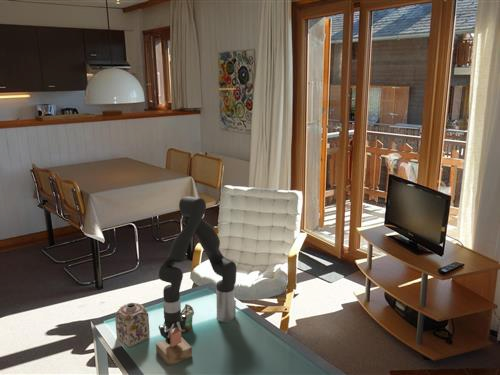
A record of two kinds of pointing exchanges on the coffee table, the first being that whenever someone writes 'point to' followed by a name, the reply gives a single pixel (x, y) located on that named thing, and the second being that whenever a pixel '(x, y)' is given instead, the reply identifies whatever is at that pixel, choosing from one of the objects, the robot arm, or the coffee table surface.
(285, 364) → the coffee table surface
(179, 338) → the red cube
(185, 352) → the walnut block
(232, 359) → the coffee table surface
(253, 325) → the coffee table surface
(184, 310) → the food container
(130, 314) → the decorative jar
